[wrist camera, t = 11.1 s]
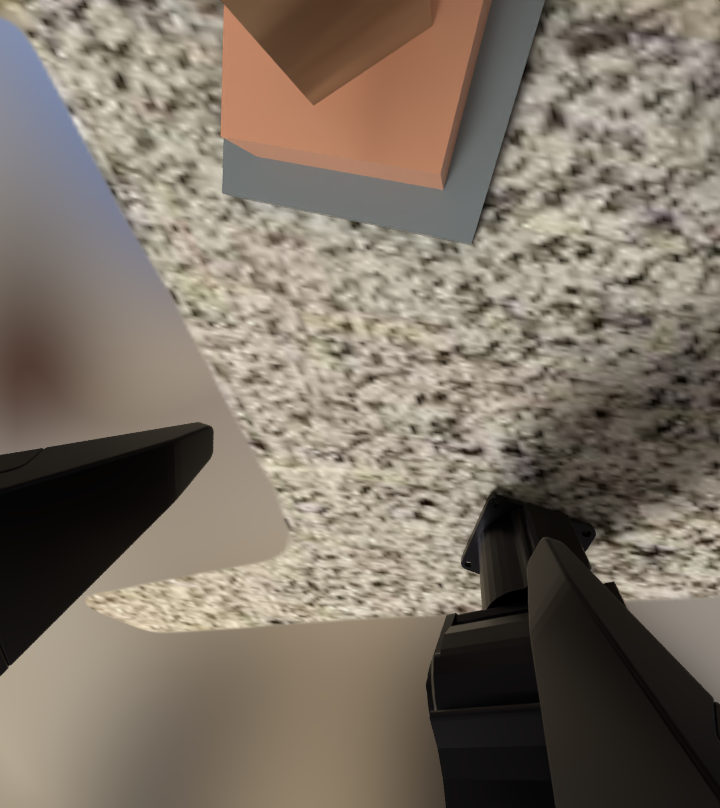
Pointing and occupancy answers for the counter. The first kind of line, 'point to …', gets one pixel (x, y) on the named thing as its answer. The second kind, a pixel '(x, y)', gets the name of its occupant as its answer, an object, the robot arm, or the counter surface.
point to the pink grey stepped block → (382, 123)
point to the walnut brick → (330, 36)
